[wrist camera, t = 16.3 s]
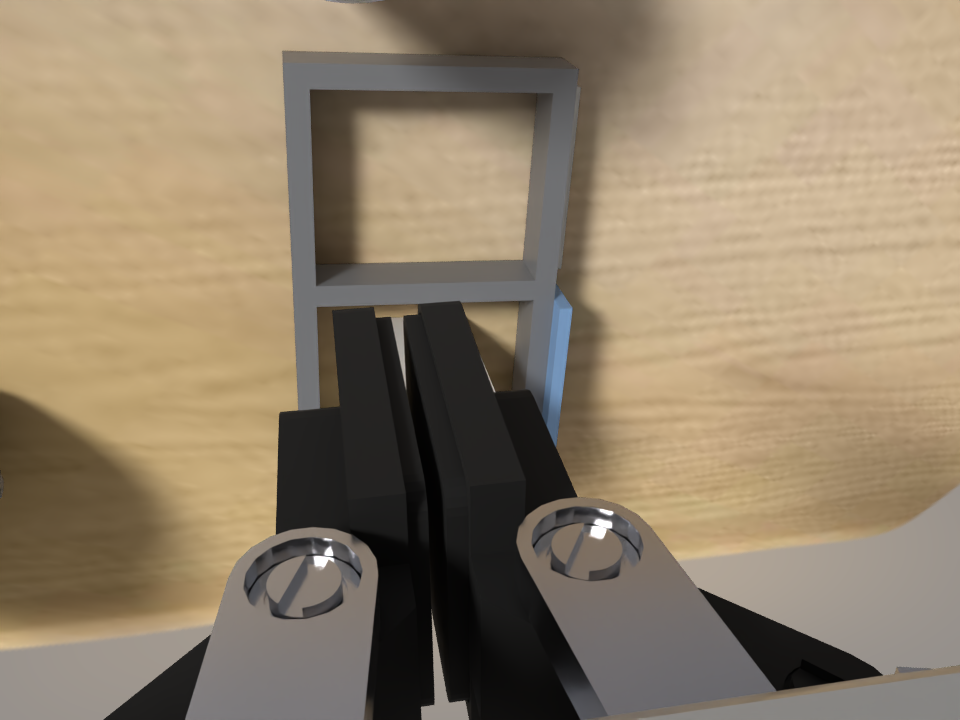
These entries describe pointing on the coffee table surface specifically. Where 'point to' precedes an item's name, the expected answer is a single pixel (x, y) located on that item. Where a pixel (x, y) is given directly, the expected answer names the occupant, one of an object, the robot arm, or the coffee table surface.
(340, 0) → the cream lidded canister
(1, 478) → the decorative rock
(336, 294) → the divided sorting tray
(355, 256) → the coffee table surface
